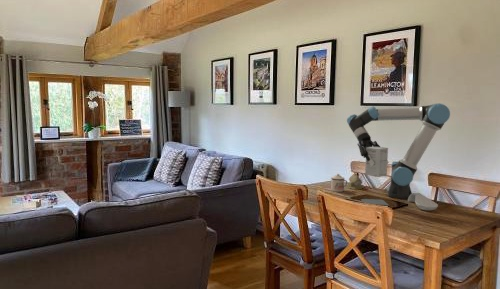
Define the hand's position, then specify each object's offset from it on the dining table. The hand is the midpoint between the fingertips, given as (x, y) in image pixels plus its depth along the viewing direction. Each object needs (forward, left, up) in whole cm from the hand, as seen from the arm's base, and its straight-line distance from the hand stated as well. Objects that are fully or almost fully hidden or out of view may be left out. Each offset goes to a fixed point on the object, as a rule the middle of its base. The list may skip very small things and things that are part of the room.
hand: (380, 164), depth 225 cm
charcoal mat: (+1, -2, -25) cm, 25 cm away
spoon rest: (-25, +1, -25) cm, 35 cm away
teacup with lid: (+16, -37, -25) cm, 48 cm away
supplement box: (+1, -2, -7) cm, 8 cm away
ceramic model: (+3, -50, -25) cm, 56 cm away
